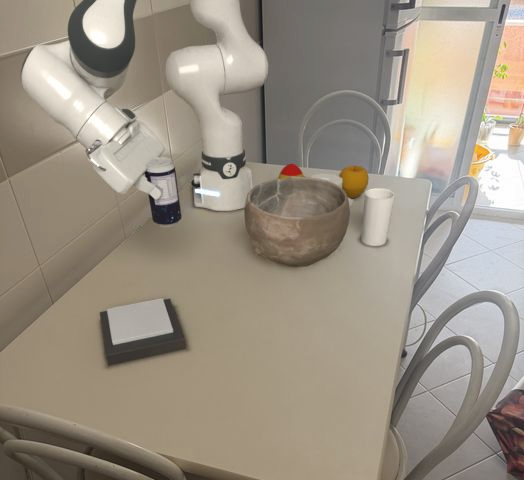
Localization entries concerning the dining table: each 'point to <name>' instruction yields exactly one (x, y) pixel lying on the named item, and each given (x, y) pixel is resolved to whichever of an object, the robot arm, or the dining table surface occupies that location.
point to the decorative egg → (290, 171)
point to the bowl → (296, 219)
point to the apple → (354, 180)
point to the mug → (376, 216)
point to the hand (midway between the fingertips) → (166, 188)
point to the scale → (140, 331)
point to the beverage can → (164, 192)
